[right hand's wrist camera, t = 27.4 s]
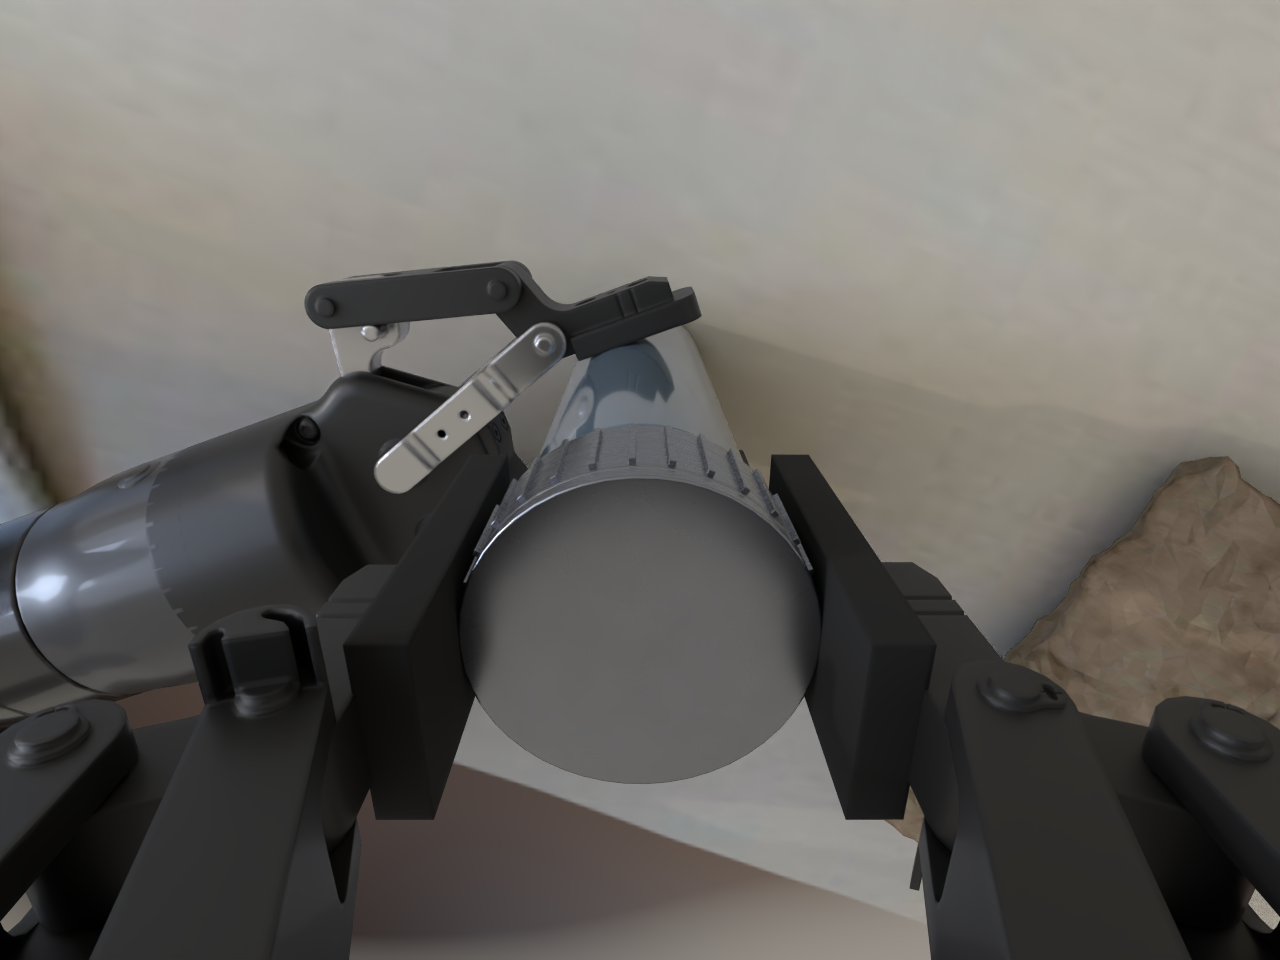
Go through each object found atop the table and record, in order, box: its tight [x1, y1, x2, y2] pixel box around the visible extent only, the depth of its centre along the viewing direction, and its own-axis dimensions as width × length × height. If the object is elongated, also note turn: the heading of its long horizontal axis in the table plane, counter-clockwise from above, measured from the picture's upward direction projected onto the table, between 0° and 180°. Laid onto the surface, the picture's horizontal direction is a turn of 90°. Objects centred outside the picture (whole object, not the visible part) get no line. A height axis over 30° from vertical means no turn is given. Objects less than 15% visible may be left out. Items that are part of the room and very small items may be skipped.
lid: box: [458, 423, 822, 784], centre depth 11 cm, size 6×6×2 cm
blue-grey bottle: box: [539, 325, 743, 461], centre depth 19 cm, size 5×5×17 cm
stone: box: [885, 457, 1280, 842], centre depth 30 cm, size 21×15×6 cm
